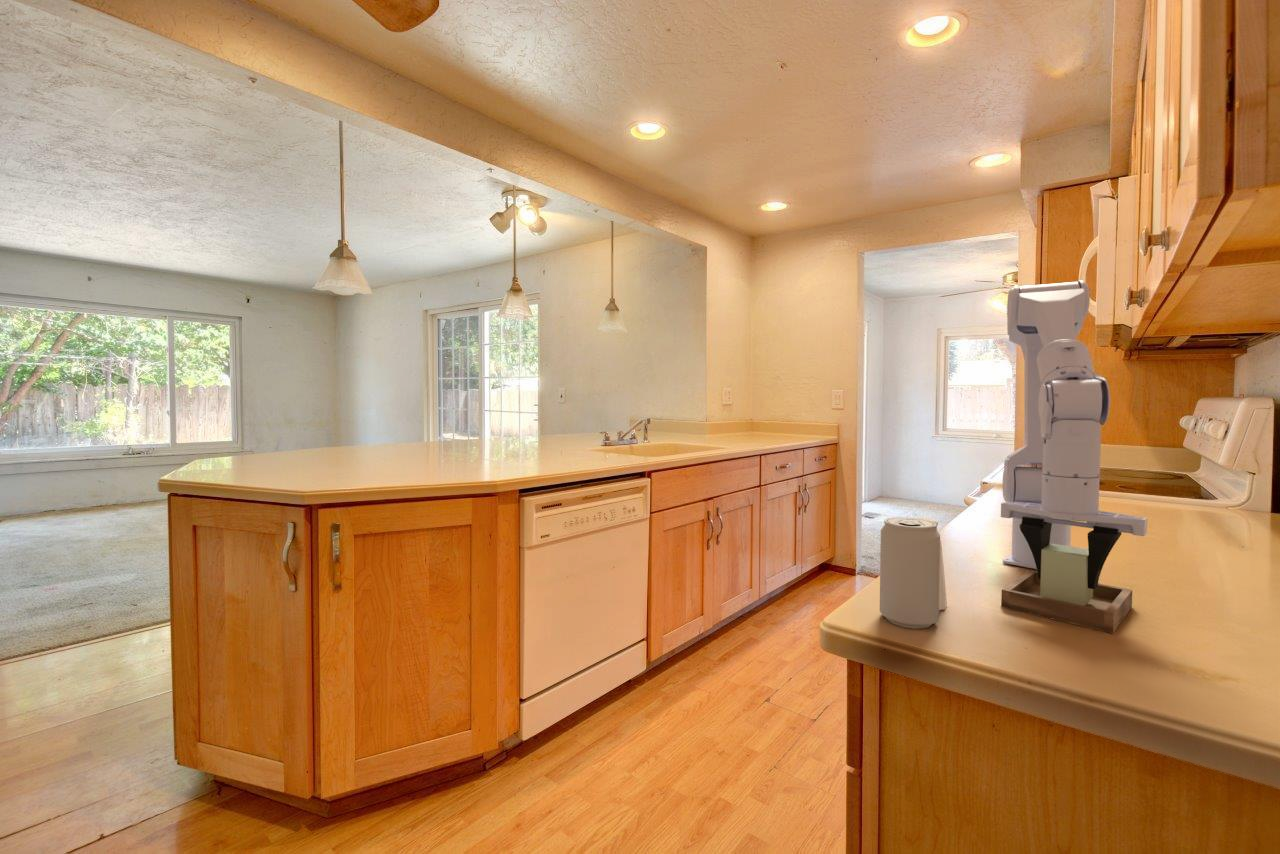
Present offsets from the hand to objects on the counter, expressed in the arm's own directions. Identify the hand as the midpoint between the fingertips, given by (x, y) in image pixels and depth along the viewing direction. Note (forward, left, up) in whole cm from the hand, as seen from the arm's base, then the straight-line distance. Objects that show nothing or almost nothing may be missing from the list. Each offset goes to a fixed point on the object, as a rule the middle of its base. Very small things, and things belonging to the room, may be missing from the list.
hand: (1067, 581), depth 71 cm
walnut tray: (0, 0, -3) cm, 3 cm away
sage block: (0, 0, -2) cm, 2 cm away
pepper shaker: (+12, -12, -3) cm, 18 cm away
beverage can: (+19, -11, -3) cm, 22 cm away
